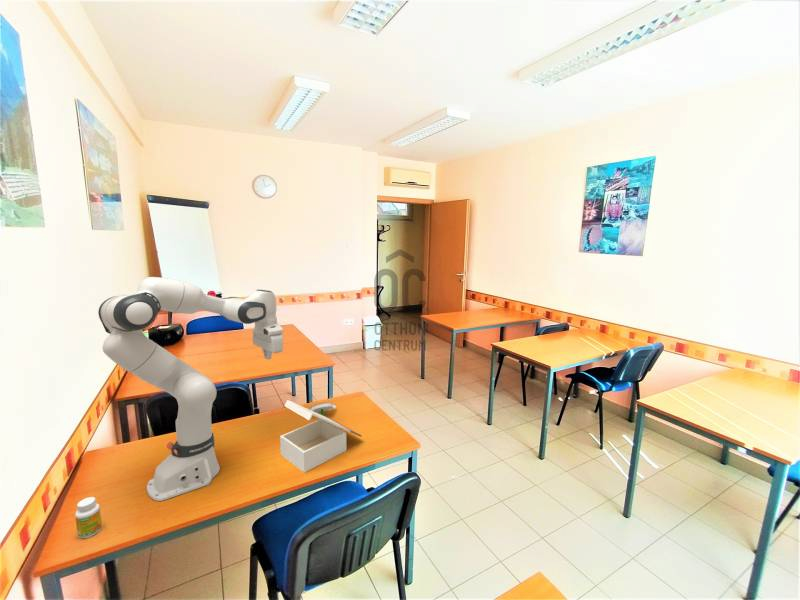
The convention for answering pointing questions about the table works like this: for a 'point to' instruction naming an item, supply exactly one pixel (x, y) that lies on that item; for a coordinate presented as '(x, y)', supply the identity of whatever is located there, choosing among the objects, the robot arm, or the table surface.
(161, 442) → the table surface
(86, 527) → the supplement bottle
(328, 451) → the box
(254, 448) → the table surface
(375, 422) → the table surface
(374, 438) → the table surface
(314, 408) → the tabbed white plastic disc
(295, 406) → the lid
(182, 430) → the robot arm
